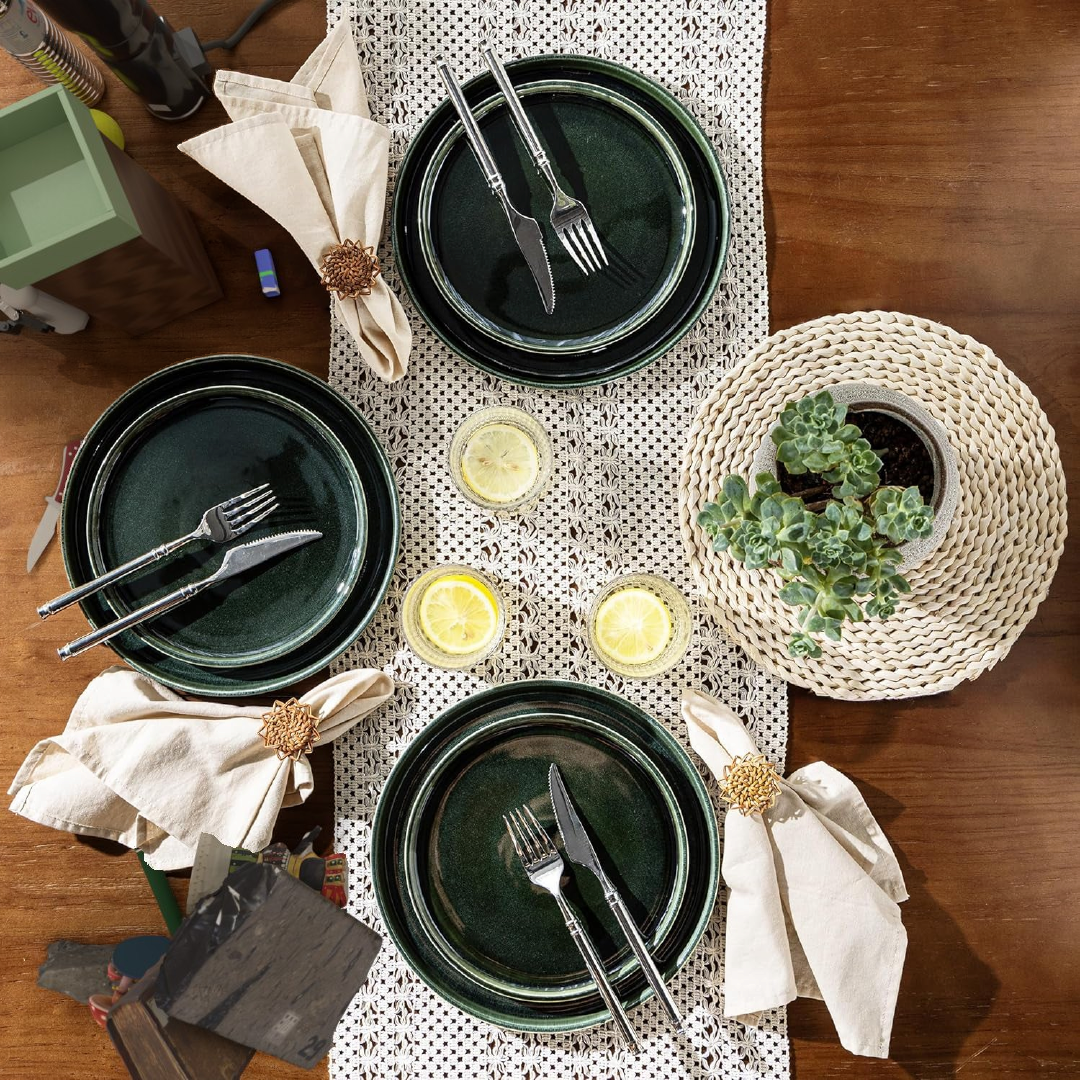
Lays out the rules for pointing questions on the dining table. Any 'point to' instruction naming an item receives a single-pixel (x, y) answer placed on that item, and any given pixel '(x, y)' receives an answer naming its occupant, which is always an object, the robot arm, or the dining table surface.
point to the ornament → (108, 127)
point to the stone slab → (267, 964)
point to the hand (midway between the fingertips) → (58, 310)
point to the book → (169, 1040)
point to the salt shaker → (45, 308)
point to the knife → (51, 509)
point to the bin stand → (141, 261)
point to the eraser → (267, 273)
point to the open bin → (56, 189)
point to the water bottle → (47, 51)
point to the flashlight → (162, 895)
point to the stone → (78, 970)
